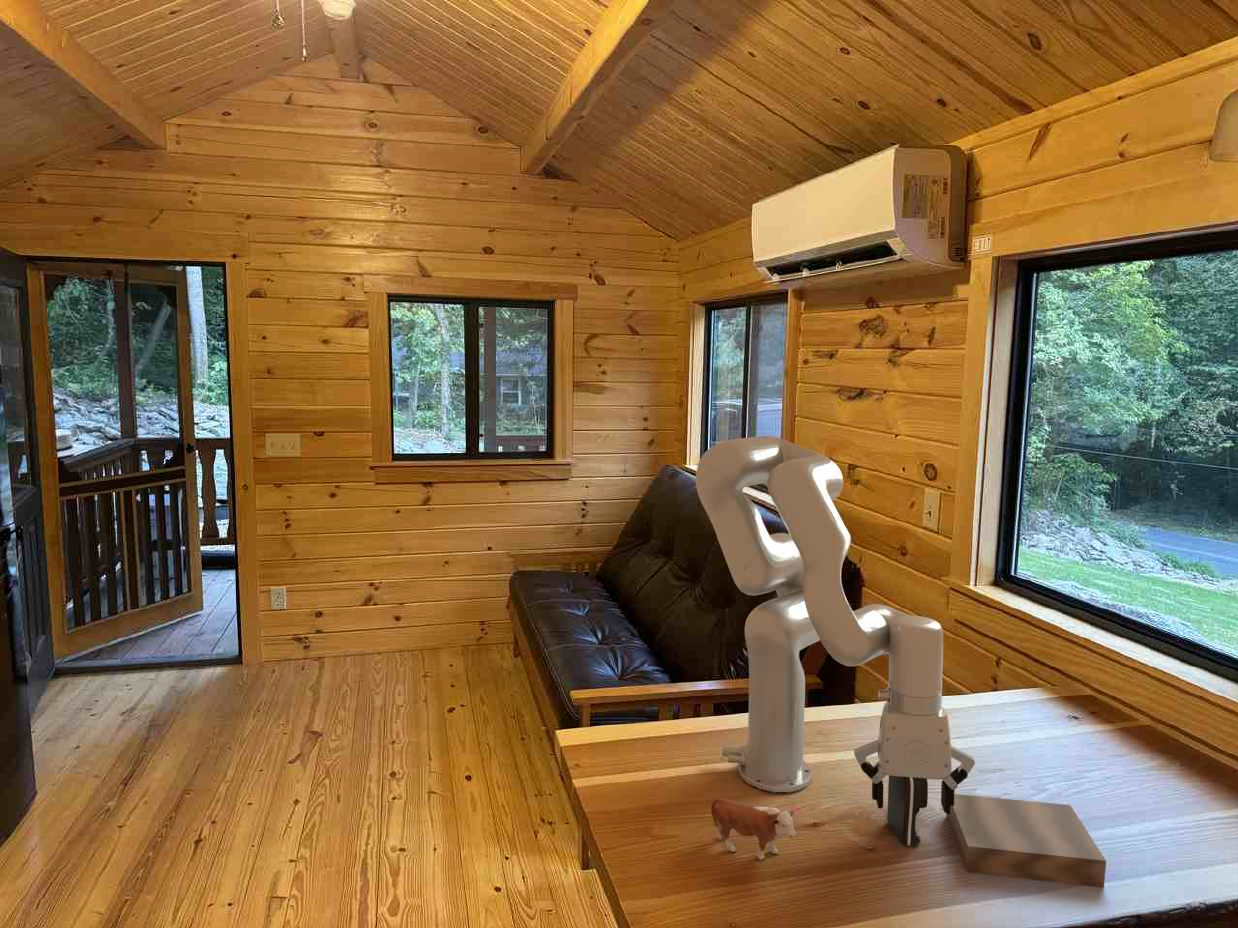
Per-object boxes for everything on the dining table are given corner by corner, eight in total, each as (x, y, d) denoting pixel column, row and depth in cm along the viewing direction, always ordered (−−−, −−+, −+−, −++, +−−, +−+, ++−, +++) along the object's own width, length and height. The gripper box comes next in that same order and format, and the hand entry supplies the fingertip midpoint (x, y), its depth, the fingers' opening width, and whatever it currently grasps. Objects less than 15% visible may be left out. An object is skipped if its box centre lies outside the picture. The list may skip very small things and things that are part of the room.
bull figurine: (792, 875, 115) (793, 822, 114) (706, 845, 122) (707, 795, 121) (802, 859, 119) (804, 807, 117) (719, 830, 126) (719, 781, 125)
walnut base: (966, 871, 116) (968, 845, 115) (946, 816, 129) (947, 793, 129) (1103, 887, 112) (1106, 860, 112) (1068, 828, 126) (1070, 804, 125)
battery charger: (928, 847, 121) (932, 776, 120) (903, 848, 121) (907, 776, 120) (909, 820, 128) (912, 752, 127) (885, 821, 128) (888, 753, 126)
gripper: (857, 706, 119) (855, 815, 122) (982, 713, 116) (978, 825, 118) (852, 686, 127) (851, 789, 129) (970, 692, 123) (966, 798, 126)
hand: (912, 806), depth 124 cm, fingers open, 9 cm apart
